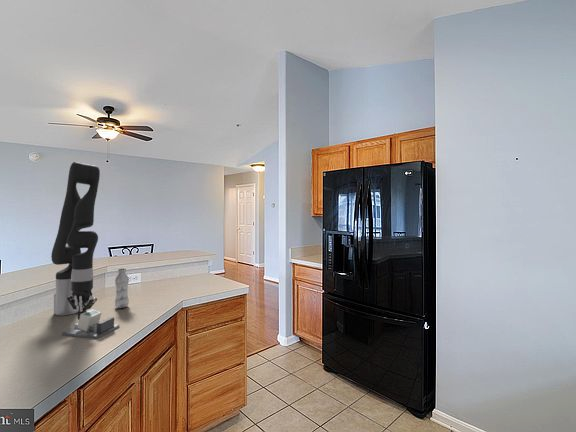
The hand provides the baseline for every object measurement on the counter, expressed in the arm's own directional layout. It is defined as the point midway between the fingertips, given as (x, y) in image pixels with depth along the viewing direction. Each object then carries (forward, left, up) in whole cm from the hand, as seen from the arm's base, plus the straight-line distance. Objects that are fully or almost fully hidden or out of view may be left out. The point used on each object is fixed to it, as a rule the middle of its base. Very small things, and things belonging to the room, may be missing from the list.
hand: (81, 319), depth 122 cm
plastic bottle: (-4, +28, -5) cm, 29 cm away
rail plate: (+5, 0, -5) cm, 7 cm away
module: (+3, 0, -3) cm, 4 cm away
